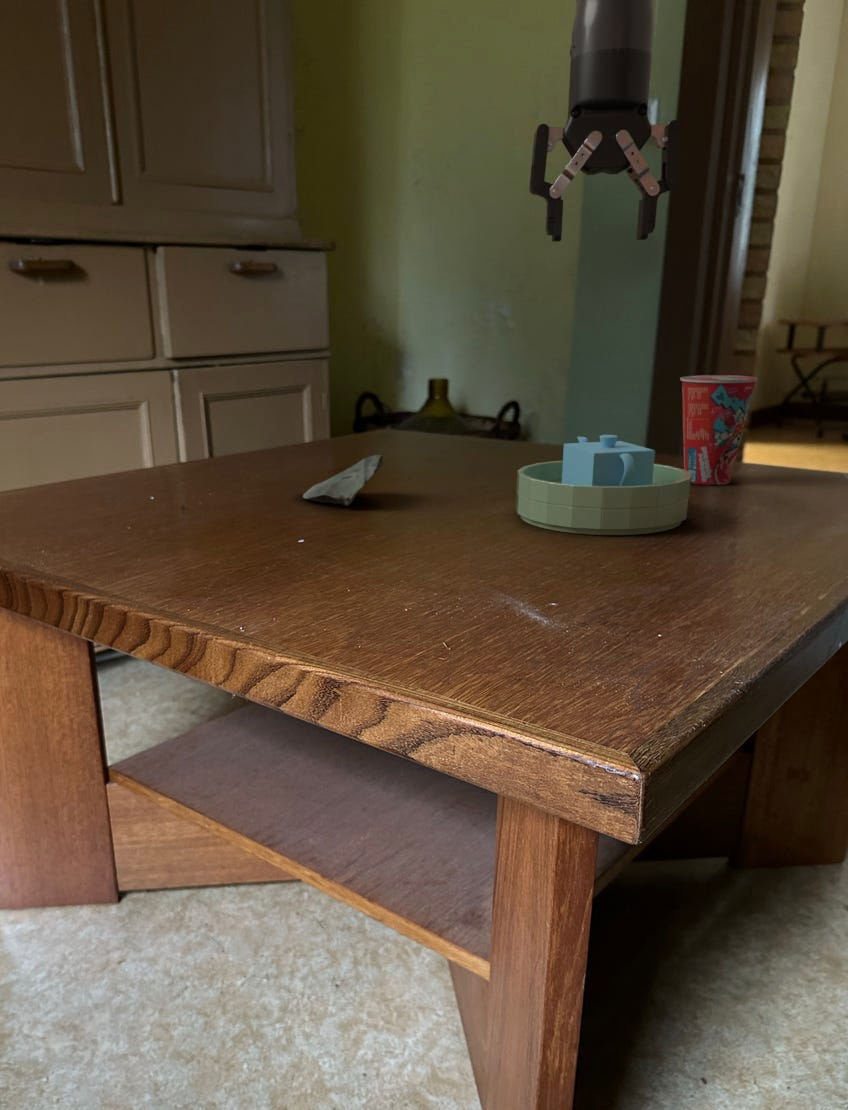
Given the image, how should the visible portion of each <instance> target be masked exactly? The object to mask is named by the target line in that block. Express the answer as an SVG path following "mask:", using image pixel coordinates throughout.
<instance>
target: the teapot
mask: <svg viewBox="0 0 848 1110" xmlns="http://www.w3.org/2000/svg"><path fill="white" fill-rule="evenodd" d="M576 438H577V441H578V442H570V443H569V442H566V443H564V444H563V451H562V452H563V453H562V461H563V468H562V483H566V484H575V485H592V486H638V485H652V482H653V471H654V463H655V458H656V450H654V449H651V448H648V447H644V446H641V445H638V444H634V443H630V442H626V441H622V440H618V439H619V436H618V435H616V434H601V435H599V440H600V441H591V442H590V441H589V439H588V438H587V437H585V436H580V435H579V436H576Z"/></svg>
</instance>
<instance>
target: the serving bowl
mask: <svg viewBox="0 0 848 1110" xmlns="http://www.w3.org/2000/svg"><path fill="white" fill-rule="evenodd" d="M562 468H563V460H552V461H545V462H544V461H543V462H537V463H533V464H528V465H525V466H522V467H520V468H518V470H517V471H516V495H515V510H516V512H517V514H518V516H520V519H521V520H522V521H524V522H525V523H527V524H528V525H532V526H534V527H538V528H541V529H546V530H550V531H555V532H560V533H562V532H563V533H569V534H578V535H592V536H636V535H637V536H638V535H646V534H655V533H662V532H666V531H670V530H672V529H675V528H677V527H679V526H680V525H682V523H683V521H685V520H687V518H688V515H689V506H690V498H691V488H692V483H691V479H692V474H691V473H689V472H688V471H686V470H684V468H680V467H676V466H674V465H673V466H672V465H668V464H662V463H655V462H654V471H653V482H652V485H638V486H592V485H575V484H566V483H562Z"/></svg>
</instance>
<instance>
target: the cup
mask: <svg viewBox="0 0 848 1110" xmlns="http://www.w3.org/2000/svg"><path fill="white" fill-rule="evenodd" d="M679 379H680V381H681V389H682V392H681V393H682V395H681V396H682V433H683V434H682V435H683V436H682V437H683V438H682V439H683V440H682V441H683V467H684V468H683V469H684V470H686V471H688V472H689V473H691V474H692V479H691V484H693V485H694V484H695V485H703V486H722V485H728V484H730V483H731V479H732V477H733V476H732V475H733V471H734V468H735V464H736V460H737V457H738V453H739V448H740V445H741V441H742V437H743V433H744V430H745V425H746V422H747V418H748V413H749V410H750V405H751V401H752V398H753V393H754V389H755V385H756V382H758V381H759V377H757V376H751V375H749V376H748V375H739V374H738V375H737V374H735V375H734V374H733V375H731V374H702V375H701V374H700V375H687V376H686V375H685V376H681V377H679Z"/></svg>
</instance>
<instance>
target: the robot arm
mask: <svg viewBox="0 0 848 1110" xmlns="http://www.w3.org/2000/svg"><path fill="white" fill-rule="evenodd" d="M573 17H574V18H573V24H572V32H571V44H570V48H569V57H570V65H569V67H570V68H569V87H568V106H567V107H568V108H567V119H566V123H565V125H564V127H557V126H556V127H555V126H553V127H552V126H549V125H548V124H546V123H541V124H539V125H538V126H537V128H536V130H535V132H534V134H533V135H534V136H533V146H532V156H531V168H530V176H529V177H530V178H529V186H528V187H529V193H530V194H531V195H533V196H538V197H541V198H543V199H544V200H545V201H546V220H545V232H546V235H547V236H551V242H554V243H557V242H561V241H562V235H563V233H562V231H563V214H564V199H562V195H563V193H564V192H565V190H567V187H569V185H570V183H572V181H573V180H574V179H575V177H576V176H577V175H578V173H579V171H580V172H582V173H583V174H585V175H586V176H594V175H599V174H601V173H603V174H605V175H619V174H620V173H623V172H624V171H625V173H626V174H627V176H628V178H629V179H630V180H631V181H632V183H634V185H635V186H636V188H637V189H638V191H639V192H640V194H641V196H642V197H641V199H640V200H639V201H638V214H637V228H636V241H645V240H647V239H648V237H649V234H652V233H653V232H654V230H655V228H656V223H657V221H656V220H657V208H658V199H659V197H660V196H661V195H663V194H664V193H666V192H670V191H672V190H674V189H675V188H677V187H678V185H679V184H680V166H681V165H680V163H681V136H682V135H681V134H682V123H681V121H680V120H678V119H672V120H671V121H669V122H666V123H656V124H651V122H650V120H649V113H648V110H649V97H650V96H649V95H650V86H651V85H650V84H651V71H652V59H653V46H654V32H655V11H654V0H576V2H575V11H574V16H573ZM650 138H651V139H653V140H654V144H655V147H656V148H657V149H659V150H661V161H660V162H661V165H660V166H661V167H660V169H661V170H660V179H659V180H656V178H655V176H654V174H652V172H651V170H650V167H649V164H648V163H647V161H646V159H645V158H644V156H643V155H642V153H641V151H642V149H643V148H644V147H645V145H646V143H648V141H649V139H650ZM558 141H561V142H562V144H563V146H564V147H565V149H566V150H567V152H568V154H569V155H570V157H571V159H570V160H569V162H568V163H567V164H566V166H565V167H564V169H563V170H562V172H561V173H560V174H559V176H558V177H557V178H556V180H555V181H554V183H550V182H548V181H545V180H546V179H545V178H546V168H547V160H548V159H547V157H548V153H551V152H553V150H554V149H555V147H556V145H557V142H558Z"/></svg>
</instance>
